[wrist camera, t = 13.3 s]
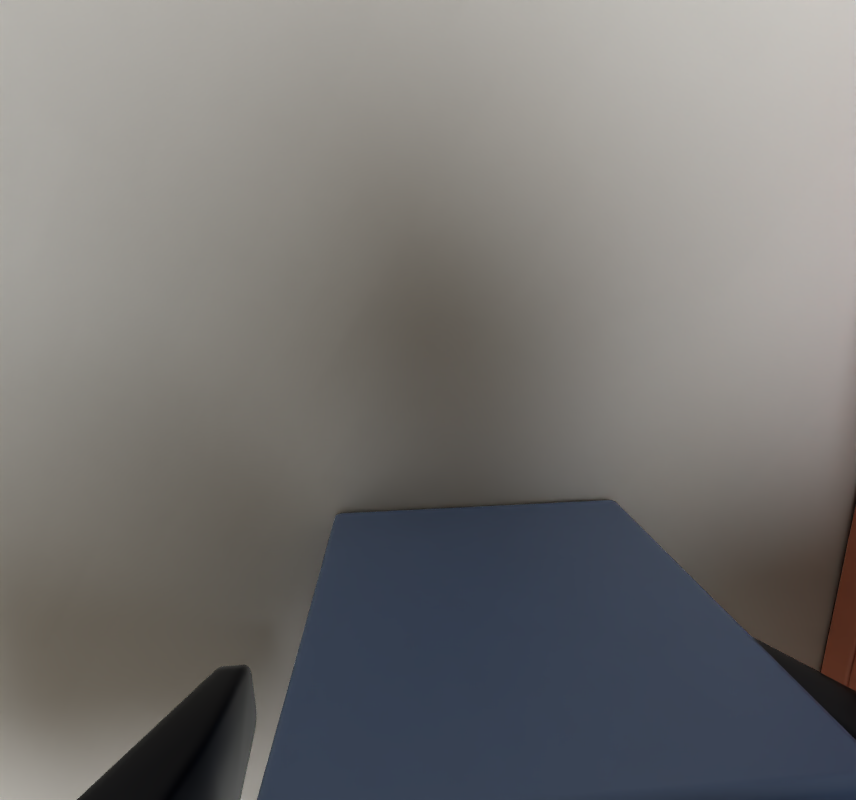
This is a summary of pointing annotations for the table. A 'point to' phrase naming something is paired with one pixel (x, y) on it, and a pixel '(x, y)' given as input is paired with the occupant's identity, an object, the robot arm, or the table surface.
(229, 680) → the robot arm
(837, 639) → the terracotta tray
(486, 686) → the blue block
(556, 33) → the table surface
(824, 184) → the table surface
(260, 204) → the table surface
